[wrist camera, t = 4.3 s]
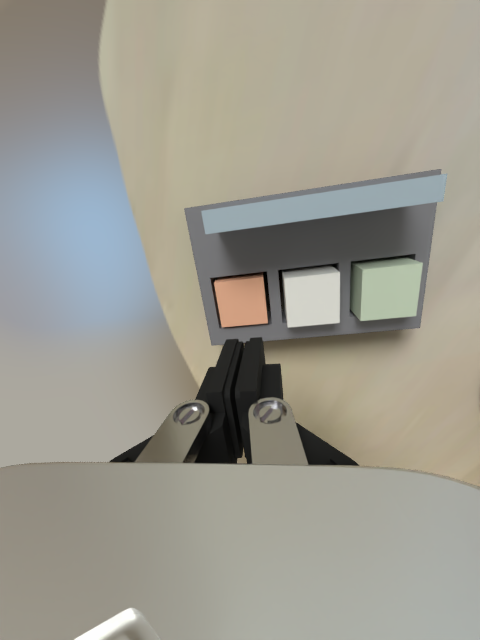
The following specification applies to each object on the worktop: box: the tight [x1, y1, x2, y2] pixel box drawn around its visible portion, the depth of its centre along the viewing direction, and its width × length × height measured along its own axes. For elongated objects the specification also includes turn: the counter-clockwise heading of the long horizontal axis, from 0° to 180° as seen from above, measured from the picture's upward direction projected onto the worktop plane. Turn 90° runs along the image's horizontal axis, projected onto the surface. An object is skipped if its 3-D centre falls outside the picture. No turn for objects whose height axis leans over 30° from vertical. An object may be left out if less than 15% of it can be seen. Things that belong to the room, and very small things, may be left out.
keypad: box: [184, 169, 447, 345], centre depth 18 cm, size 16×10×7 cm, turn 98°
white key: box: [281, 264, 340, 328], centre depth 19 cm, size 4×4×3 cm
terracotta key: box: [214, 272, 268, 327], centre depth 21 cm, size 4×4×3 cm
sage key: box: [350, 256, 423, 321], centre depth 19 cm, size 4×4×3 cm
